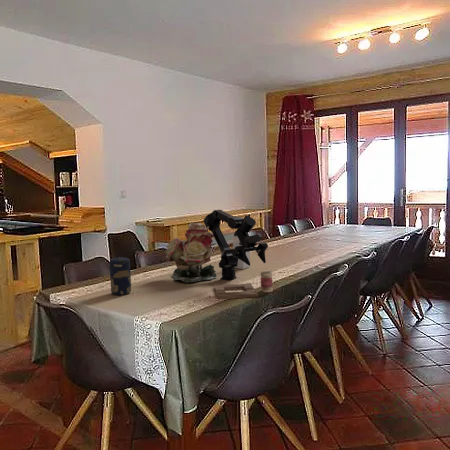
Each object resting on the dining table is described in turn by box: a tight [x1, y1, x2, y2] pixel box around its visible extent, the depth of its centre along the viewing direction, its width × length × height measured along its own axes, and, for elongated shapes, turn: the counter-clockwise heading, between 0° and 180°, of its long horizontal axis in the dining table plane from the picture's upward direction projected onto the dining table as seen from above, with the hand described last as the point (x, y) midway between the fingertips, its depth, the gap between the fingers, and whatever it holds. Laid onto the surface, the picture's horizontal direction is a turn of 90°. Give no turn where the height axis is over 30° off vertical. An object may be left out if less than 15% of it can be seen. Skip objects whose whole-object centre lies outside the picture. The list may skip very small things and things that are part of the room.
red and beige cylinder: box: [259, 270, 274, 293], centre depth 209 cm, size 6×6×9 cm
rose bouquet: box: [163, 222, 217, 284], centre depth 238 cm, size 26×29×30 cm
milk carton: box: [232, 236, 251, 270], centre depth 264 cm, size 7×7×19 cm
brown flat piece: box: [213, 282, 259, 300], centre depth 208 cm, size 20×18×2 cm
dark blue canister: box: [108, 256, 132, 296], centre depth 211 cm, size 10×10×18 cm
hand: (257, 263), depth 214 cm, fingers open, 9 cm apart
